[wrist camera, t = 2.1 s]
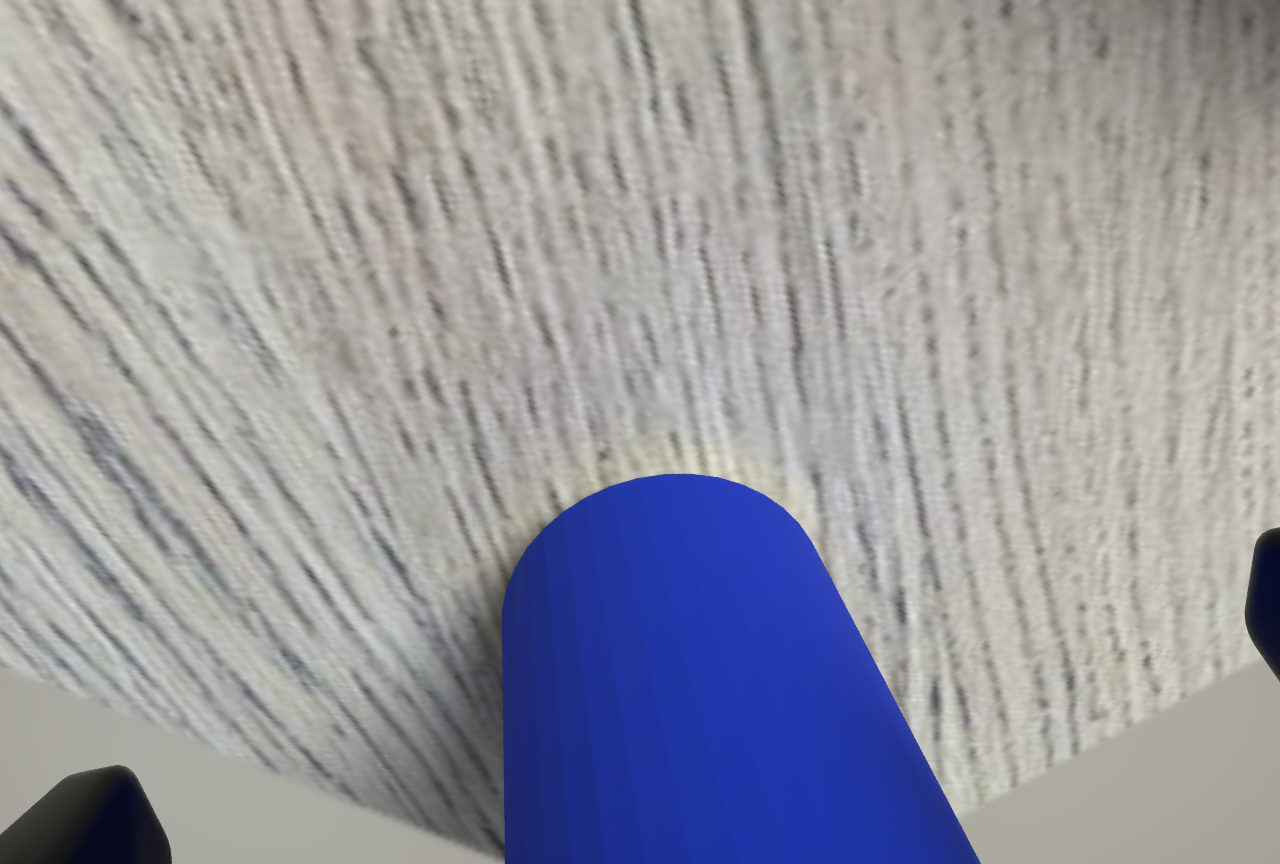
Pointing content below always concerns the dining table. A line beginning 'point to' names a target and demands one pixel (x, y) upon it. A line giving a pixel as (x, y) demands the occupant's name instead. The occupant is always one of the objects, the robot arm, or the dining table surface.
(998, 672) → the dining table surface
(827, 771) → the beverage can
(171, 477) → the dining table surface
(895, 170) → the dining table surface
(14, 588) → the dining table surface
